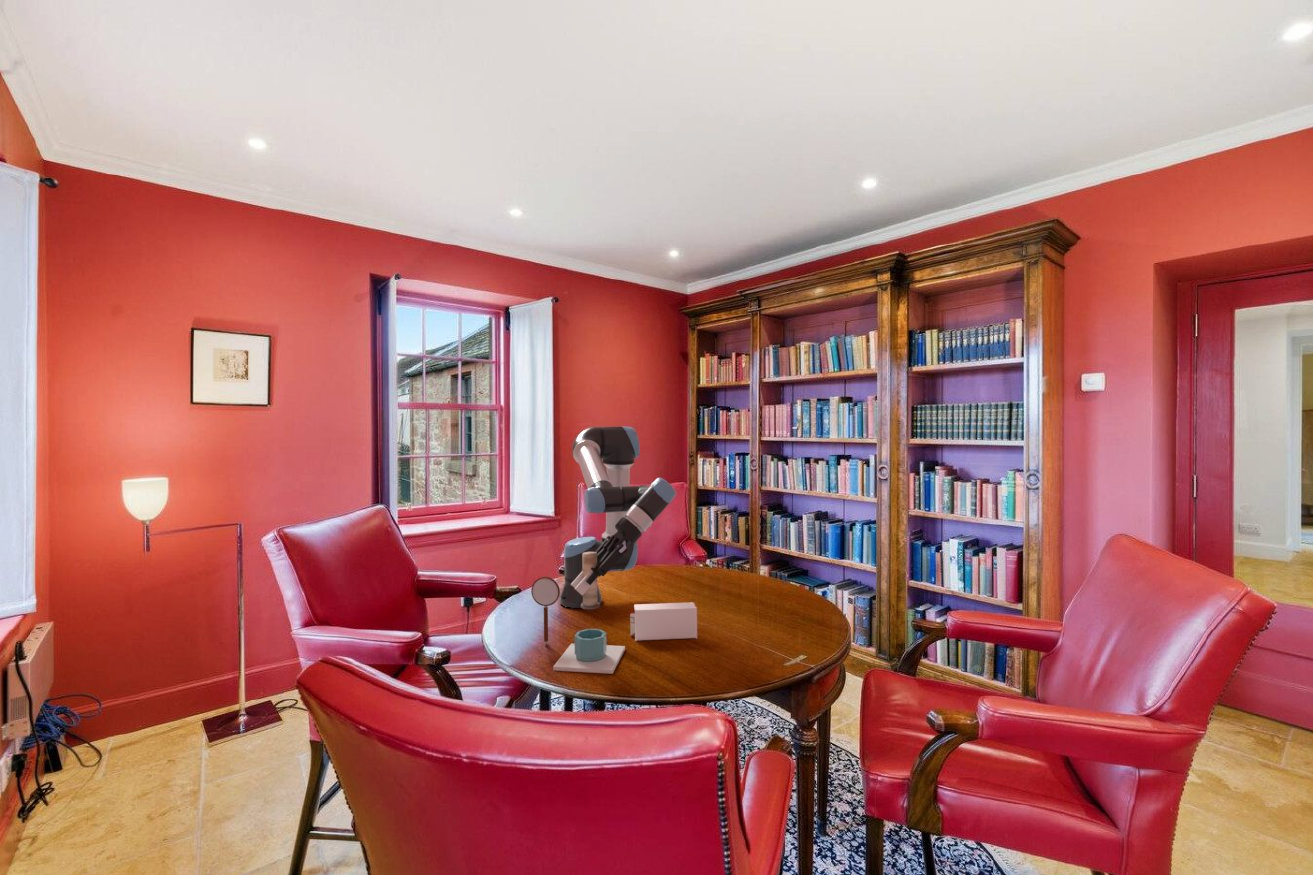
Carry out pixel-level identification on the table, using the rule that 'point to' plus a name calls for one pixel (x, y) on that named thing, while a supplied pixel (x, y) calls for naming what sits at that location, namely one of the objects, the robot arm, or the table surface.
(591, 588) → the pillar candle on dish
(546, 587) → the magnifying glass
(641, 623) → the cigarette display
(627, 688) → the table surface
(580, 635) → the octagonal cup on tile
